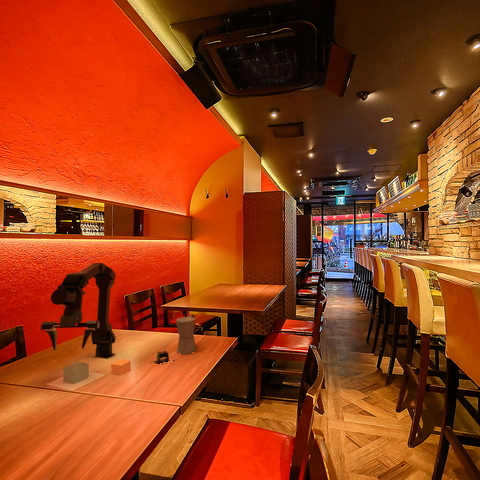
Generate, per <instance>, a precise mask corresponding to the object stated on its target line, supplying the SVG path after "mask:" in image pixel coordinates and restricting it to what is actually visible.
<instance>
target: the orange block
mask: <svg viewBox="0 0 480 480" xmlns="http://www.w3.org/2000/svg"><path fill="white" fill-rule="evenodd" d="M110 370H111V371H110V372H111V375H115V376H123V375H125V374H127V373H129V372H131V370H132V369H131V360H126V359H119V360H116V361H114V362H113V363H111V364H110Z"/></svg>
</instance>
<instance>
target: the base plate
mask: <svg viewBox="0 0 480 480" xmlns="http://www.w3.org/2000/svg"><path fill="white" fill-rule="evenodd" d="M103 376H106V374H104V373H100V372H95V371H91V370H89V377H88V378H86V379H84V380H82V381H80V382H78V383H76V384H73V383H69V382H64V381H63V376H61V377H59V378H56V379H55V380H52V381H50V382H47V383H45V385H47V386H50V387H55V388H59V389H64V390H68V391H72V392H73V391H75V390H77V389H79V388H81V387H83V386H85V385H88V384H89V383H92V382H94V381H95V380H97V379H100V378H102V377H103Z"/></svg>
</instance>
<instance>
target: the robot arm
mask: <svg viewBox="0 0 480 480" xmlns="http://www.w3.org/2000/svg"><path fill="white" fill-rule="evenodd" d="M92 278H93V279H94V281H95V285H96V286H97V288H98V299H97V301H98V302H97V314H96V315H97V316H96V320H86V322H82V321H83V317H84V316H83V312H82V309H83V300H84V299H83V298H84V296H85V295H86V291H84V288H86V287H87V286H88V285H89V283H90V280H91V279H92ZM115 280H116V272H115V271H114V269H113V268H111V267H109V266H107V265H106V264H105V263H103V262H94V263H92V264H91V265H89V266H87V267H86V268H84V269H82V270H80V271H78V272H77V271H76V272H71V273H67V274H66V275H65V277H64V278H63V281H62V282H61V283H60V285H58V286H57V288H56V289H55V290H53V292H52V293H51V295H50V301H51V303H53V305H56V306H64V309H63V313H62V315H61V316H60V317H59V322H58V321H43V322H41V325H40V331H42V330H43V331H44V333H47V334H48V336H49V338H50V340H51V345H52V349H53V351H56V350H57V342H58V330H57V329H71V328H74V329H75V328H86V329H84V333H83V338H82V342H81V343H82V344H81V350H84V349H85V346H86V343H88V340H89V337H90V338H91V342H92V345H93V346H94V345H95V347H96V348H95V355H94V357H97V358H101V359H109V358H111V357H113V356H115V355H116V354H115V352H113V344H115V343H116V339H117V337H116V334H115V333H114V331H113V326H112V325H111V323H110V321H109V318H110V317H109V315H110V302H111V301H110V296H111V289H112V287H113V285H114V284H115Z"/></svg>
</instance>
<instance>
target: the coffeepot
mask: <svg viewBox="0 0 480 480" xmlns="http://www.w3.org/2000/svg"><path fill="white" fill-rule="evenodd" d="M175 322H176V323H175V324H176V328H177V332H178V333H177V334H178V341H177V342H178V343H177V351H176V353H177V352H178V354H179V353H181V354H180V355H189V354H188V353H191V354H193V353H192V352H194V353H196V351H197V347H196V342H195V336H194V334H195V324H196V316H195V315H194V314H191V315H189V316H188V312H184V316H183V317H179V318H177V319H176V321H175Z"/></svg>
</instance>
